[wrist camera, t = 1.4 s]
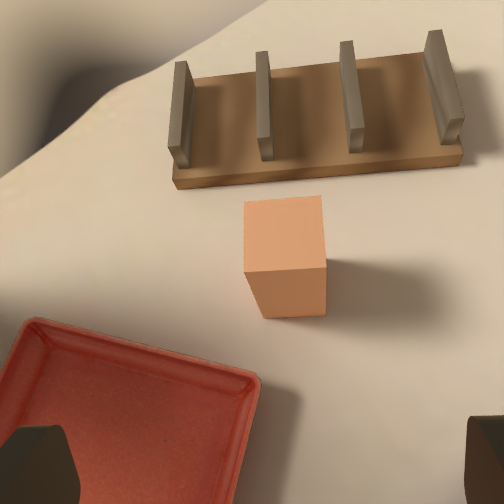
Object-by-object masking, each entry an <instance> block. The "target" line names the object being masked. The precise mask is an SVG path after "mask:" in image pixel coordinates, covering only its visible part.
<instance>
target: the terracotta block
mask: <svg viewBox="0 0 504 504" xmlns="http://www.w3.org/2000/svg"><path fill="white" fill-rule="evenodd" d="M244 273H245V276H246V278H247V280H248V283H249V285H250V287H251V290H252V292H253V295H254V297H255V299H256V302H257V304H258V306H259V309H260V311H261V313H262V316H263V318H281V317H303V316H324V315H326V280H327V265H326V252H325V240H324V228H323V216H322V204H321V196H311V197H298V198H286V199H273V200H261V201H248V202H244Z"/></svg>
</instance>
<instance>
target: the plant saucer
mask: <svg viewBox="0 0 504 504" xmlns="http://www.w3.org/2000/svg"><path fill="white" fill-rule="evenodd" d="M261 385H262V384H261V380H260V378H259V377H258V376H257V375H256V374H255V373H253V372H251V371H247V370H243V369H239V368H235V367H231V366H227V365H223V364H220V363H215V362H211V361H207V360H204V359H200V358H196V357H191V356H188V355H184V354H180V353H176V352H172V351H168V350H164V349H160V348H156V347H152V346H148V345H145V344H141V343H136V342H133V341H129V340H125V339H122V338H117V337H113V336H109V335H106V334H101V333H97V332H94V331H90V330H87V329H83V328H78V327H74V326H71V325H67V324H63V323H59V322H56V321H52V320H48V319H44V318H40V317H33V318H30V319H27V320H26V321H25V322H24V323H23V325H22V327H21V329H20V331H19V333H18V335H17V337H16V340H15V342H14V344H13V346H12V348H11V350H10V352H9V354H8V356H7V358H6V360H5V363H4V365H3V367H2V369H1V371H0V448H1V446H2V445H3V444H4V443H5V442H6V440H7V439H8V438H9V437H10V436H11V434H12V433H13V432H14V431H15V430H16V429H17V428H19V427H20V426H24V425H60V426H61V427H62V428H63V430H64V432H65V434H66V437H67V441H68V444H69V447H70V450H71V453H72V457H73V460H74V463H75V466H76V469H77V473H78V476H79V479H80V485H81V493H80V501H79V504H232V503H233V499H234V495H235V490H236V486H237V483H238V478H239V474H240V470H241V466H242V462H243V458H244V455H245V451H246V447H247V443H248V439H249V435H250V431H251V427H252V423H253V419H254V415H255V411H256V408H257V403H258V399H259V395H260V391H261Z"/></svg>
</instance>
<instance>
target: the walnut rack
mask: <svg viewBox="0 0 504 504" xmlns="http://www.w3.org/2000/svg"><path fill="white" fill-rule="evenodd" d="M464 118H465V116H464V113H463V109H462V105H461V101H460V97H459V93H458V89H457V86H456V82H455V78H454V74H453V70H452V66H451V63H450V59H449V55H448V51H447V47H446V43H445V40H444V36H443V32H442V29H441V30H433V31H429V32H428V36H427V40H426V45H425V49H424V52H419V53H411V54H402V55H393V56H385V57H376V58H368V59H359V60H355V54H354V47H353V40H351V41H343V42H340V60H339V62H334V63H325V64H316V65H308V66H299V67H291V68H282V69H274V70H270V65H269V57H268V51H262V52H256V72H248V73H239V74H231V75H222V76H214V77H205V78H197V79H193V78H192V75H191V72H190V70H189V67H188V64H187V61H180V62H175V70H174V81H173V92H172V103H171V114H170V125H169V137H168V149H169V151H170V153H171V155H172V157H173V159H174V163H173V175H172V180H173V182H174V184H175V186H176V188H177V189H188V188H200V187H212V186H224V185H235V184H247V183H259V182H270V181H282V180H294V179H306V178H317V177H329V176H341V175H353V174H364V173H376V172H388V171H400V170H411V169H423V168H435V167H446V166H458V164H459V162H460V160H461V158H462V156H463V151H462V147H461V143H460V139H459V135H458V133H459V131H460V128H461V126H462V123H463V121H464Z"/></svg>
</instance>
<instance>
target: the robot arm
mask: <svg viewBox="0 0 504 504" xmlns="http://www.w3.org/2000/svg"><path fill="white" fill-rule="evenodd" d="M464 487H465V495H466V500H467V504H504V415H495V416H470V417H469V419H468V422H467V436H466V454H465V472H464ZM80 493H81V485H80V479H79V476H78V473H77V469H76V466H75V463H74V460H73V457H72V453H71V450H70V447H69V444H68V441H67V437H66V434H65V432H64V430H63V428H62V427H61V426H60V425H24V426H20V427H19V428H17V429H16V430H15V431H14V432H13V433H12V434H11V436H10V437H9V438H8V439H7V440H6V442H5V443H4V444H3V445H2V446H1V448H0V504H79V501H80Z"/></svg>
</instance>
